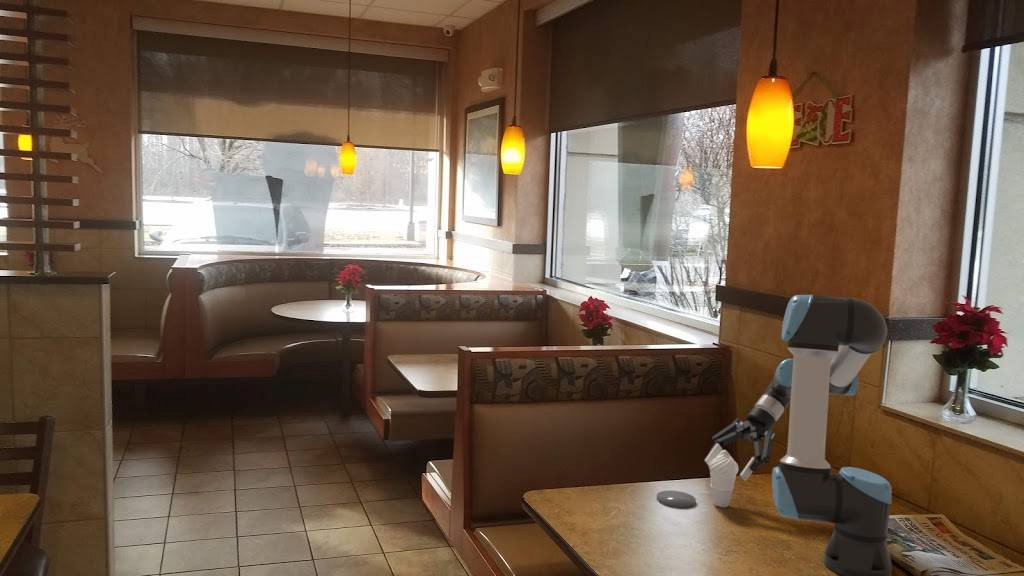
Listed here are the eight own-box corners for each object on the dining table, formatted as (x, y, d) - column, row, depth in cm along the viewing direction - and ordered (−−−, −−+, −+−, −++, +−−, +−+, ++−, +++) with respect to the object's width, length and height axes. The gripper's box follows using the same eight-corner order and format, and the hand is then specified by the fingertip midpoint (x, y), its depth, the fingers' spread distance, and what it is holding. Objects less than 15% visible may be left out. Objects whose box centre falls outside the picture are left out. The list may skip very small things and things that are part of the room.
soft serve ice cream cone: (736, 511, 227) (741, 456, 225) (705, 508, 228) (710, 453, 227) (734, 501, 235) (739, 447, 233) (704, 497, 236) (709, 444, 235)
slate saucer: (689, 511, 225) (689, 507, 225) (651, 502, 231) (651, 498, 230) (700, 499, 235) (700, 496, 235) (663, 491, 240) (664, 487, 240)
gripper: (805, 433, 229) (764, 492, 223) (738, 411, 250) (699, 464, 244) (794, 417, 226) (752, 476, 220) (727, 396, 247) (687, 449, 240)
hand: (724, 470), depth 232 cm, fingers open, 13 cm apart
